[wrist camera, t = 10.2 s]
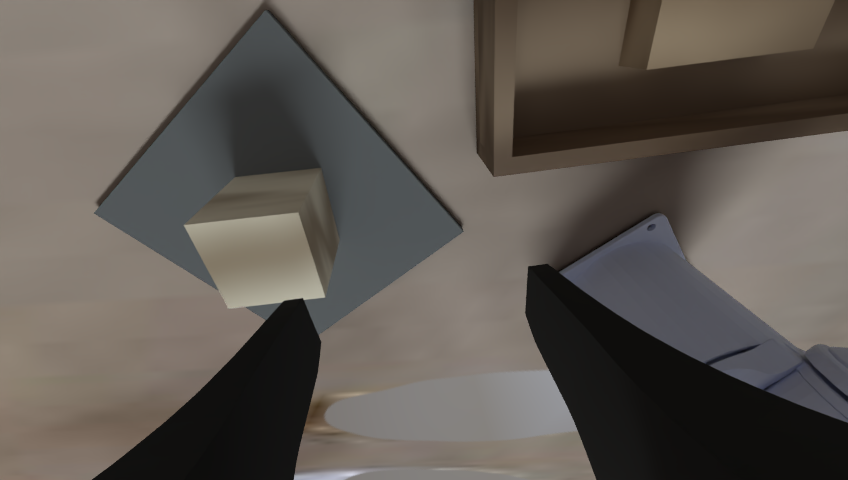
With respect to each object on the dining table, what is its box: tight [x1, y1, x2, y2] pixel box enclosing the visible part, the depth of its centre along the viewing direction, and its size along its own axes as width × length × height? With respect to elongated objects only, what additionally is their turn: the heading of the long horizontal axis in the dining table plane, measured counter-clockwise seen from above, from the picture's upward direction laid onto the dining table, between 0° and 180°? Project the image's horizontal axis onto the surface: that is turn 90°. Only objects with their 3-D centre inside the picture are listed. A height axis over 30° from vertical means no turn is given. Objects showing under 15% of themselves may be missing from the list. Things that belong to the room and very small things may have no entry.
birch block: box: [184, 168, 340, 309], centre depth 16 cm, size 4×4×5 cm
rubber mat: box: [94, 10, 464, 335], centre depth 19 cm, size 14×14×1 cm
